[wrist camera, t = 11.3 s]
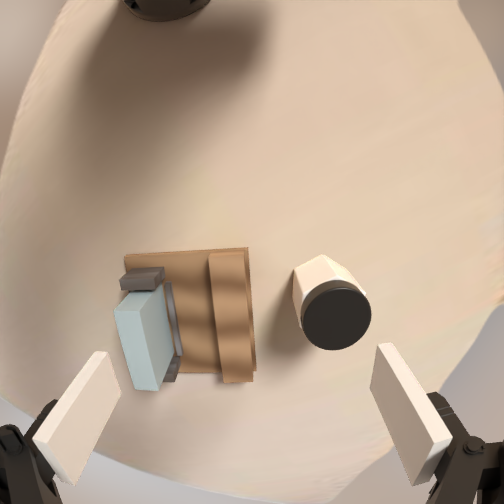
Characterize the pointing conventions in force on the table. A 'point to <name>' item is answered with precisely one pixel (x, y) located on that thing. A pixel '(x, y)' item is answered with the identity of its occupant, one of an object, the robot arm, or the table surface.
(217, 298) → the brown piece
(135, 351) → the door
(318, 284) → the jar
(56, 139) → the table surface
